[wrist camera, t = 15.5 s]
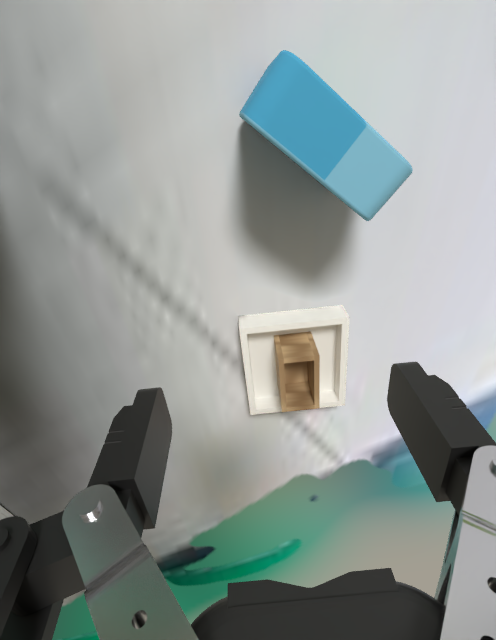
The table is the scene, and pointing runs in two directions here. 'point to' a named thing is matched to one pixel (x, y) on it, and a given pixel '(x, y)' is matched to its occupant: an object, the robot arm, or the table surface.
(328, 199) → the table surface
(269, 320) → the large crate
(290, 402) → the small crate
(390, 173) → the blue rounded block
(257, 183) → the table surface
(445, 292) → the table surface
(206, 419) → the table surface
